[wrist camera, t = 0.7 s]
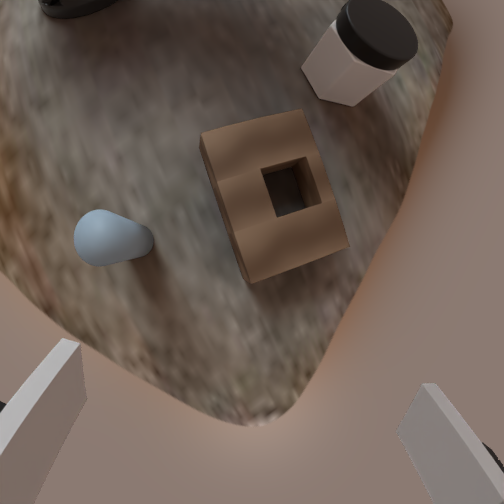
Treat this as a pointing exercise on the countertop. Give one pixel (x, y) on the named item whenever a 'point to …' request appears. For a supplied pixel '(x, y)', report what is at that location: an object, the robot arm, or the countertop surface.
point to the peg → (110, 238)
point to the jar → (360, 51)
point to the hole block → (258, 200)
